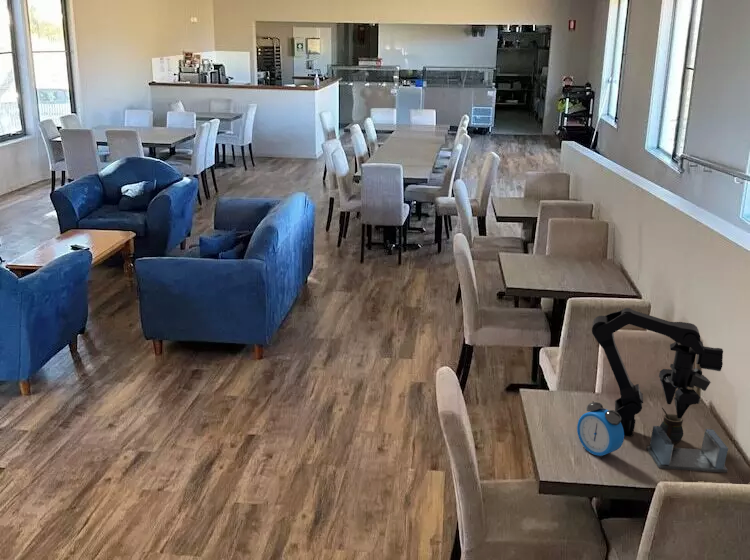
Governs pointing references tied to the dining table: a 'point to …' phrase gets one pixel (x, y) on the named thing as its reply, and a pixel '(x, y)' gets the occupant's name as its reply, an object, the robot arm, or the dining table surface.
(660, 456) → the free jaw
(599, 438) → the alarm clock
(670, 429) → the mate gourd
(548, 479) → the dining table surface
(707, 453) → the vise bed
